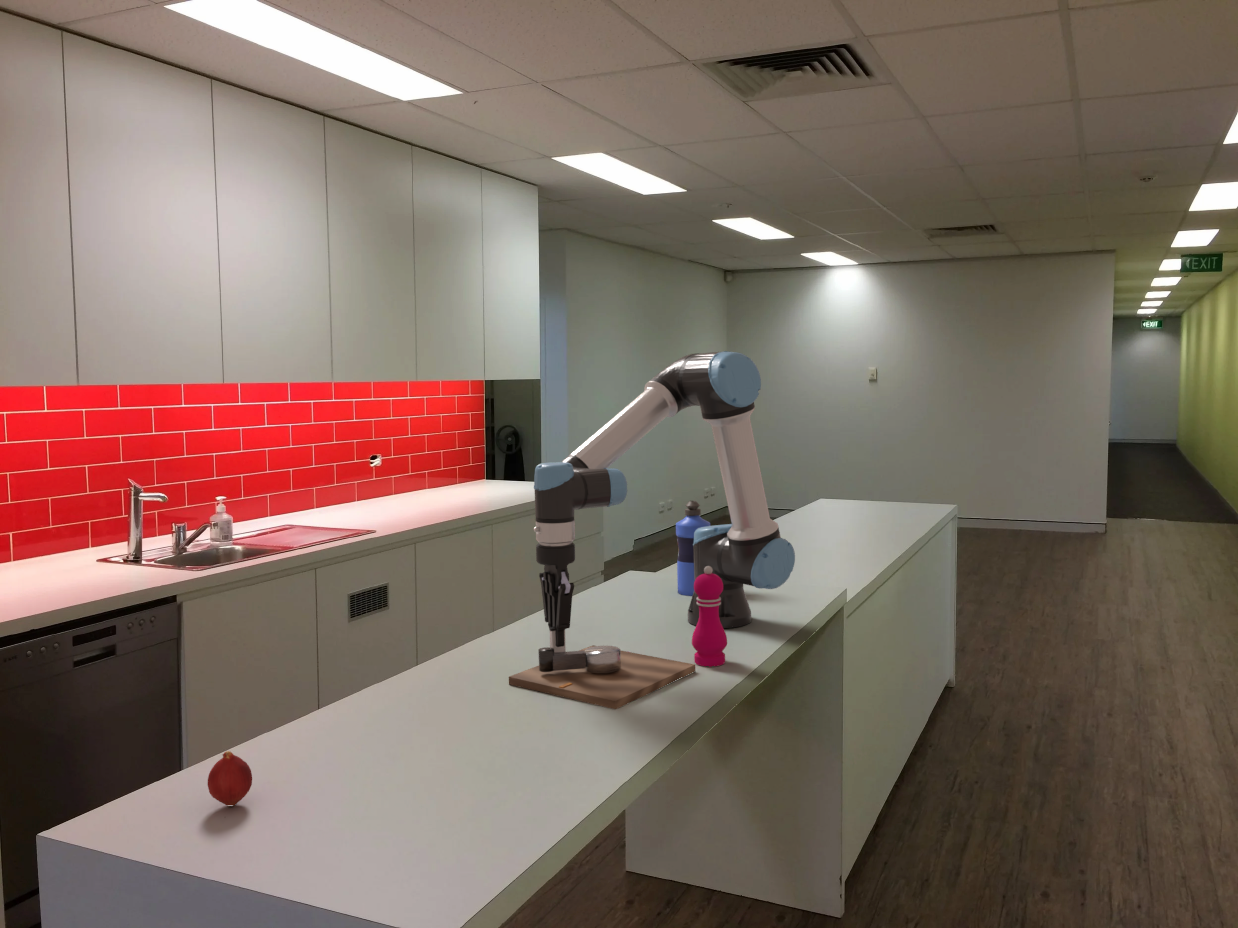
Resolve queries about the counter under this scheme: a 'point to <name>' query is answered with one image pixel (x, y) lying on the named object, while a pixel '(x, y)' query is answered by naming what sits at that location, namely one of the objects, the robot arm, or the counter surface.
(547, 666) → the dark grey dumbbell shape
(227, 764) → the onion
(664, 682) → the wooden cutting board
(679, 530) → the water bottle
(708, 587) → the pepper mill
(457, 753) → the counter surface
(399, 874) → the counter surface
